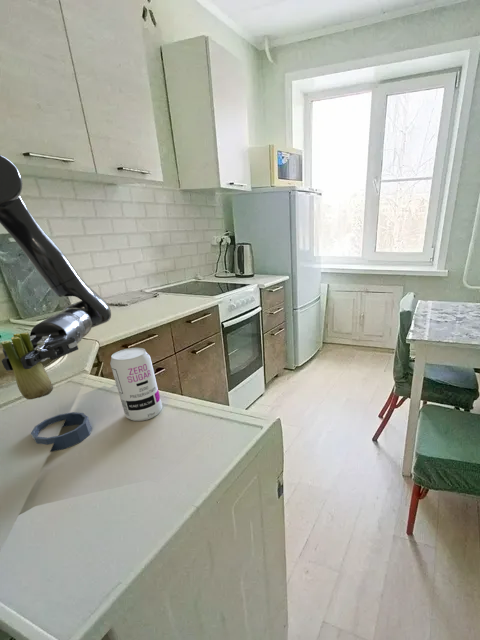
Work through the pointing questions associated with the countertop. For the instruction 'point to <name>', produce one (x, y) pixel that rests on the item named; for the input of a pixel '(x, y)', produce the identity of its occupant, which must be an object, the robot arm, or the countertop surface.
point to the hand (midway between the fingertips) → (15, 364)
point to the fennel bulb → (28, 380)
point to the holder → (67, 438)
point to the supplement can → (136, 383)
